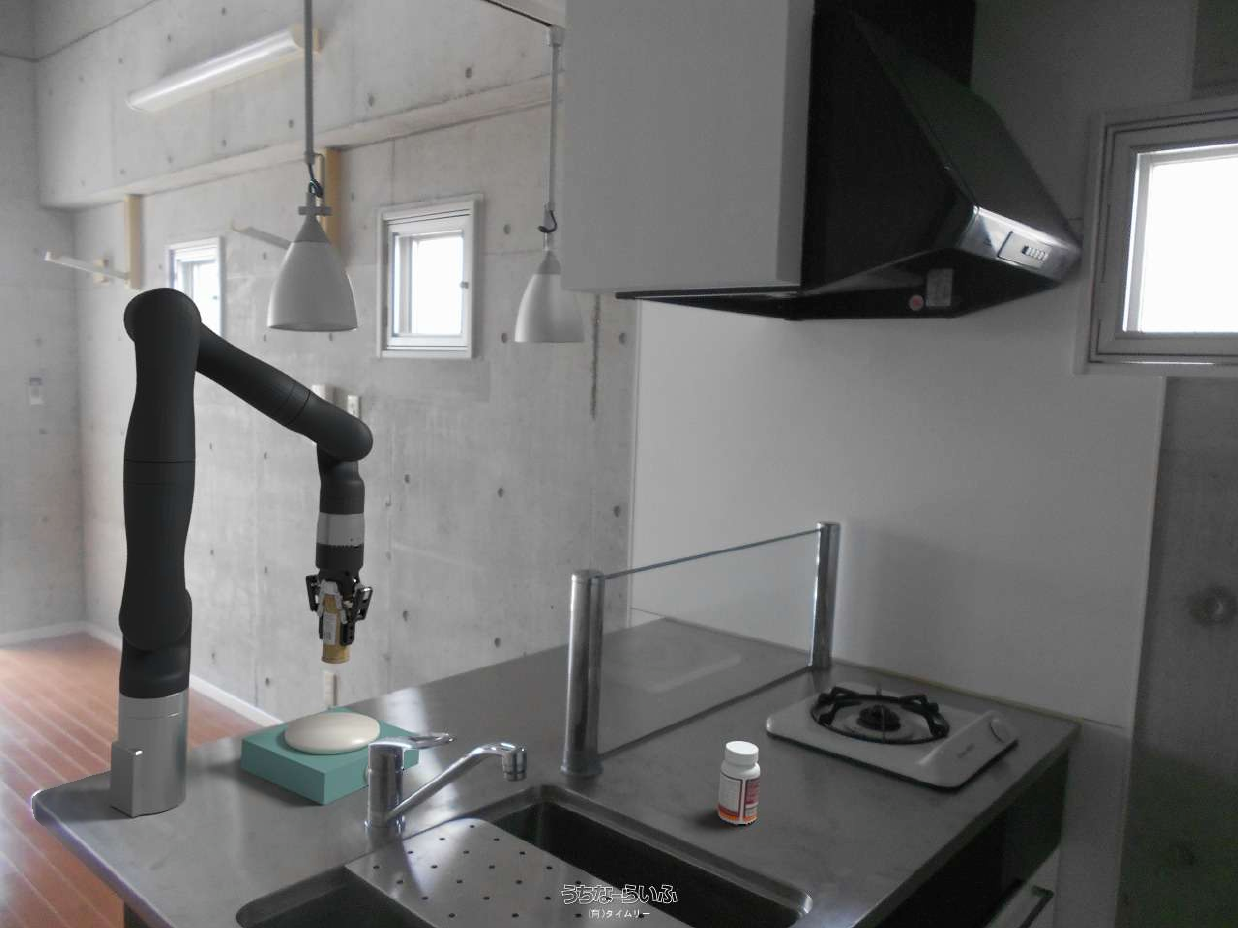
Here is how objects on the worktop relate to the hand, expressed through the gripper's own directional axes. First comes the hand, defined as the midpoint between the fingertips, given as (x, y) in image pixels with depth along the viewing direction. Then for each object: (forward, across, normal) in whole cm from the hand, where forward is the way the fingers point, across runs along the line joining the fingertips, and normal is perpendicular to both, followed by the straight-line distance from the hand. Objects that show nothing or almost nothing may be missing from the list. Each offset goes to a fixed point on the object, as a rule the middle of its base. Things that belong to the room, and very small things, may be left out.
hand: (336, 641), depth 148 cm
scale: (+21, 0, 0) cm, 21 cm away
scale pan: (+16, 0, 0) cm, 16 cm away
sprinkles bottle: (+3, 0, 0) cm, 3 cm away
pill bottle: (+21, +61, +28) cm, 71 cm away
